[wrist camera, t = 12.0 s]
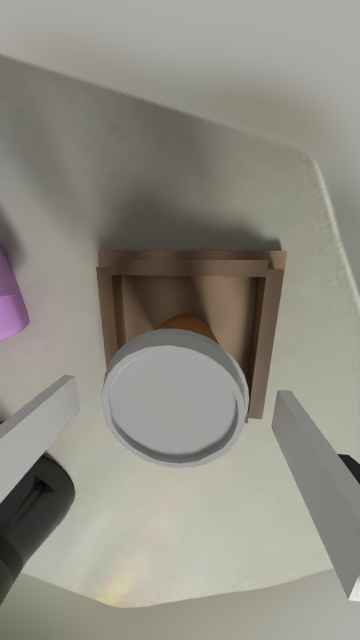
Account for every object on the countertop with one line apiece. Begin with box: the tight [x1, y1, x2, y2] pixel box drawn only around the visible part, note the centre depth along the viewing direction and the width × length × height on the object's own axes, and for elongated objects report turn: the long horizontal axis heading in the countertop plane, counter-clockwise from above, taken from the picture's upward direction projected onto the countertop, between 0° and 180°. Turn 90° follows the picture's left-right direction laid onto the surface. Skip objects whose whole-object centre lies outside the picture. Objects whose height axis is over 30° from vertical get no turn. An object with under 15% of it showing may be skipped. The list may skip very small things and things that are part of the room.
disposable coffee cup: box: [102, 314, 249, 468], centre depth 17 cm, size 10×10×12 cm
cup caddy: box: [96, 251, 287, 423], centre depth 22 cm, size 20×20×4 cm
